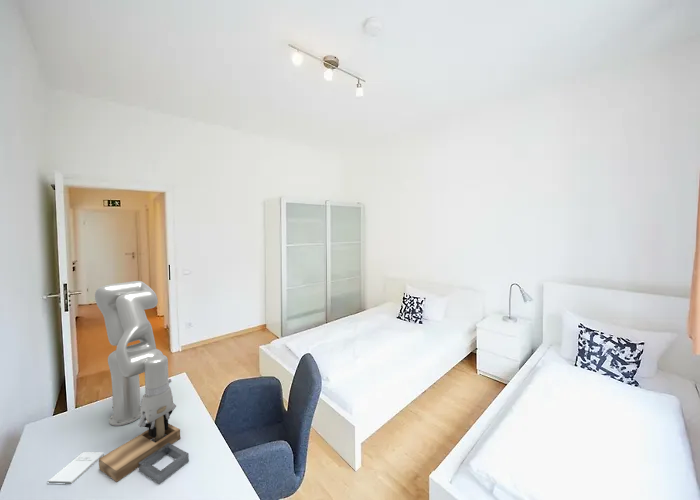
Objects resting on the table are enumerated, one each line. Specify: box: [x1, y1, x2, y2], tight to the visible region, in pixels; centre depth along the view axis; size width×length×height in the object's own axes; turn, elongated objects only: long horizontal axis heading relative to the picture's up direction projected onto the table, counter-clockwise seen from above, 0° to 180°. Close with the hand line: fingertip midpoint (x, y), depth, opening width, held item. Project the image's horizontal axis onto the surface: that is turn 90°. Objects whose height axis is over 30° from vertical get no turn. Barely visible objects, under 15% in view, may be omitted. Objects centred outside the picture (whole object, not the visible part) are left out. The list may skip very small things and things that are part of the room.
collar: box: [138, 443, 190, 485], centre depth 102 cm, size 12×10×3 cm
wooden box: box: [98, 423, 181, 483], centre depth 107 cm, size 11×22×4 cm, turn 155°
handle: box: [153, 406, 166, 443], centre depth 112 cm, size 5×6×15 cm
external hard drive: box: [46, 451, 105, 485], centre depth 100 cm, size 2×8×12 cm
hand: (158, 432), depth 113 cm, fingers closed on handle, 3 cm apart
